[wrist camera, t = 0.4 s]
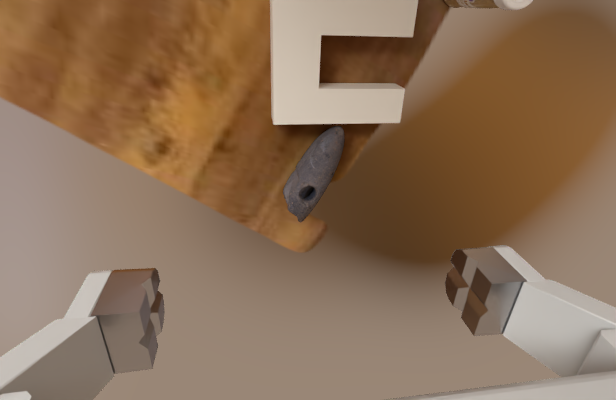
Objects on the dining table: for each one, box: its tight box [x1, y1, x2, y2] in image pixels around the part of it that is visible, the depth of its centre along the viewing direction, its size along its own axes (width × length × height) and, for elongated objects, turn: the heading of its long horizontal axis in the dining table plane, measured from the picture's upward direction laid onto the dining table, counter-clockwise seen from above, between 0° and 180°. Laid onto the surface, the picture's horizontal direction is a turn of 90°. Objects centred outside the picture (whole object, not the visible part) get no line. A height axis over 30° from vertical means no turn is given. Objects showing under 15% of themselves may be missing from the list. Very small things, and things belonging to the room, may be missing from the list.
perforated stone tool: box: [283, 126, 344, 222], centre depth 56 cm, size 15×5×7 cm, turn 148°
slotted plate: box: [270, 0, 418, 125], centre depth 50 cm, size 16×18×4 cm
